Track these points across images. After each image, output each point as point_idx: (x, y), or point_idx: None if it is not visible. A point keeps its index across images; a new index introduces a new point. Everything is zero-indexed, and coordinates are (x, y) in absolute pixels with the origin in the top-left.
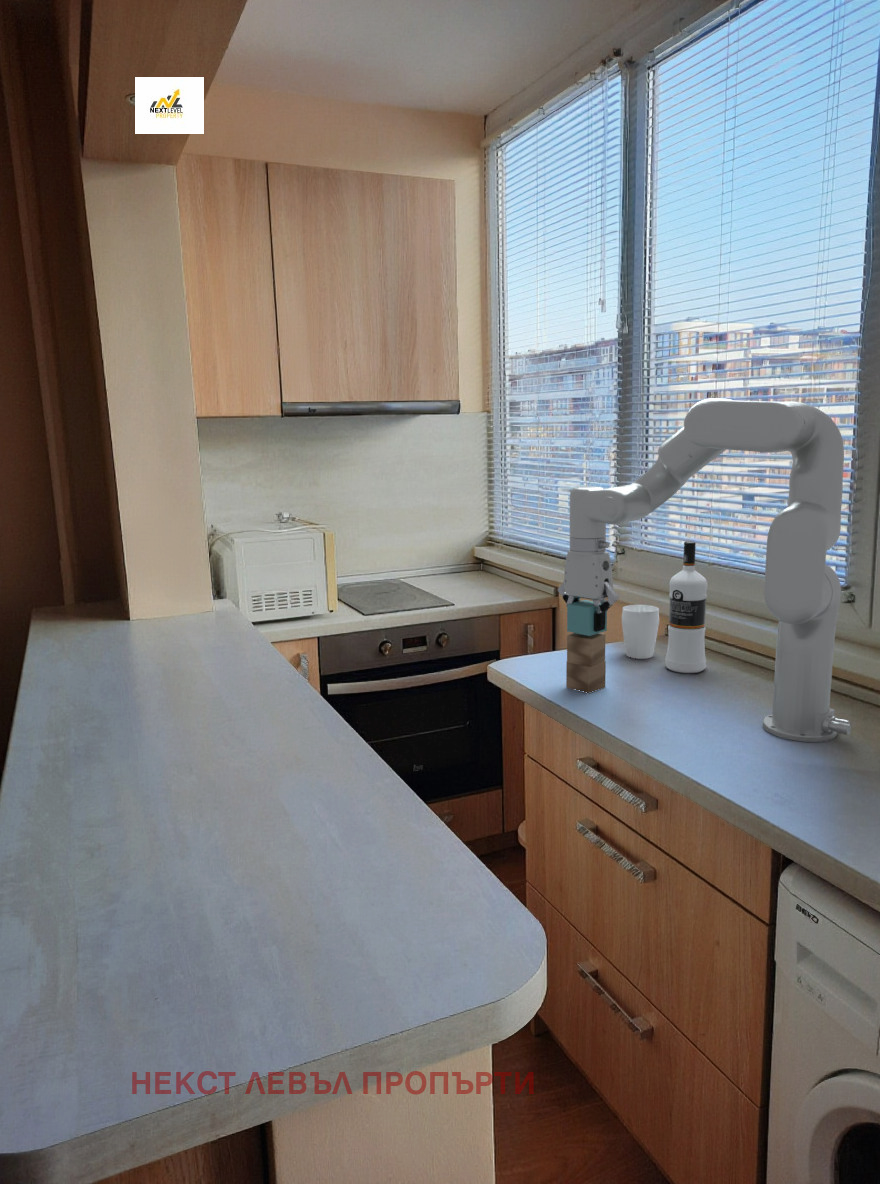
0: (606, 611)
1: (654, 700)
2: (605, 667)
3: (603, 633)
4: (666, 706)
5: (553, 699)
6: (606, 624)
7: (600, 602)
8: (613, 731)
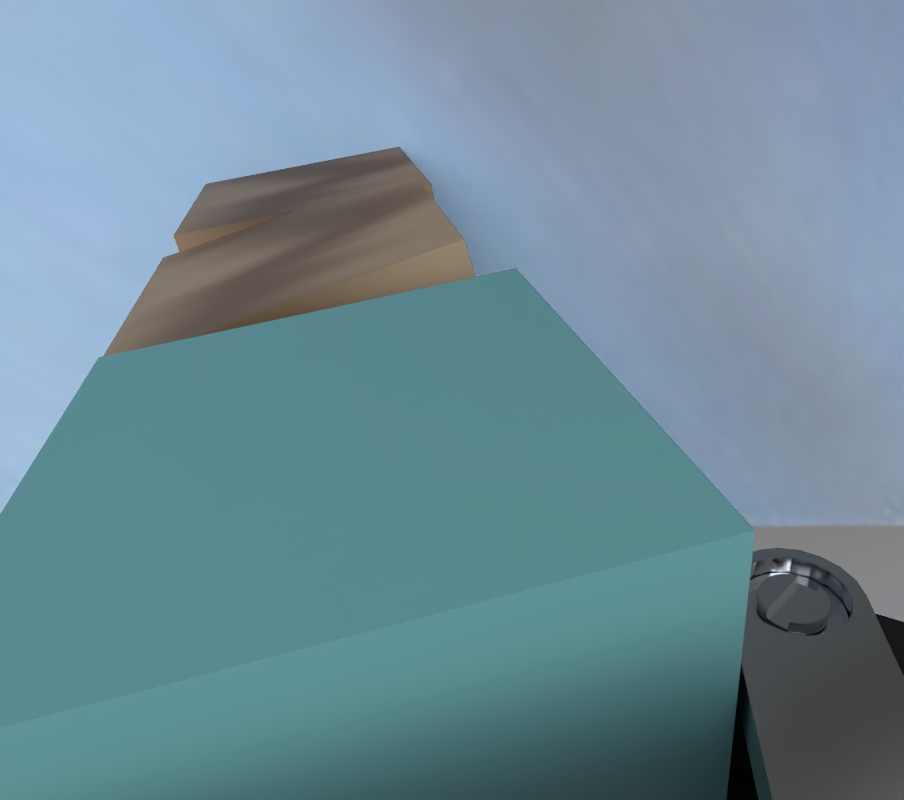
0: (783, 561)
1: (768, 75)
2: (422, 174)
3: (437, 251)
4: (865, 102)
5: None
6: (547, 309)
7: (766, 794)
8: (814, 511)
